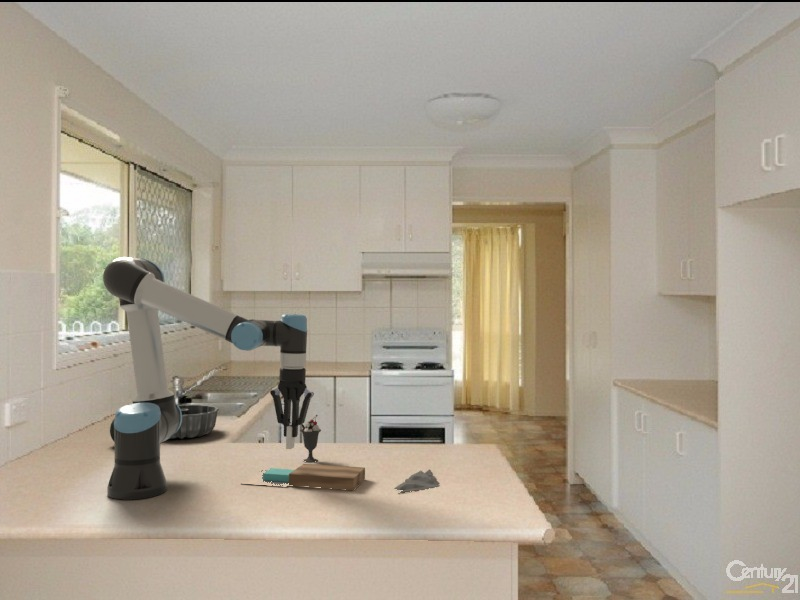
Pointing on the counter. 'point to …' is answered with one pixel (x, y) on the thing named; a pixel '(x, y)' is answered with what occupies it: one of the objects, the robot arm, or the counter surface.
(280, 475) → the rectangular block
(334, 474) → the brown wooden slab
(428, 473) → the cloth
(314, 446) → the sundae
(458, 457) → the counter surface
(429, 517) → the counter surface
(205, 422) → the bundt pan
